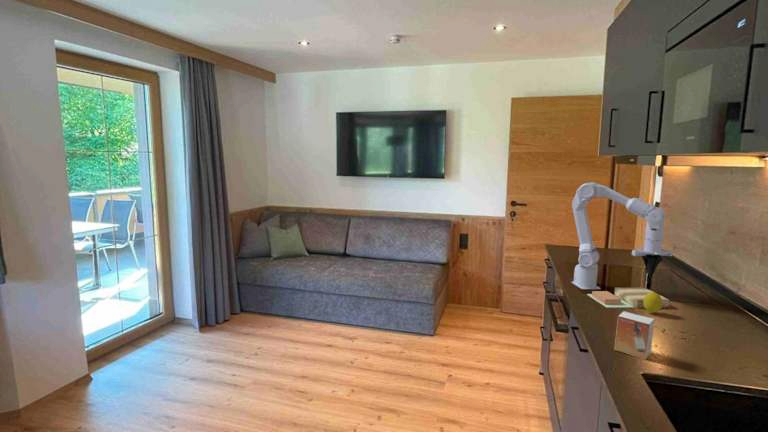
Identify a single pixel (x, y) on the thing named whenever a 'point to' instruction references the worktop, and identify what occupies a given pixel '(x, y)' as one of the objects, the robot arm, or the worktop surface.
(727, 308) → the worktop surface
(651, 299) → the lemon
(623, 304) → the mat
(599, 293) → the tile
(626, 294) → the tan tray
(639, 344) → the small box
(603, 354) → the worktop surface
